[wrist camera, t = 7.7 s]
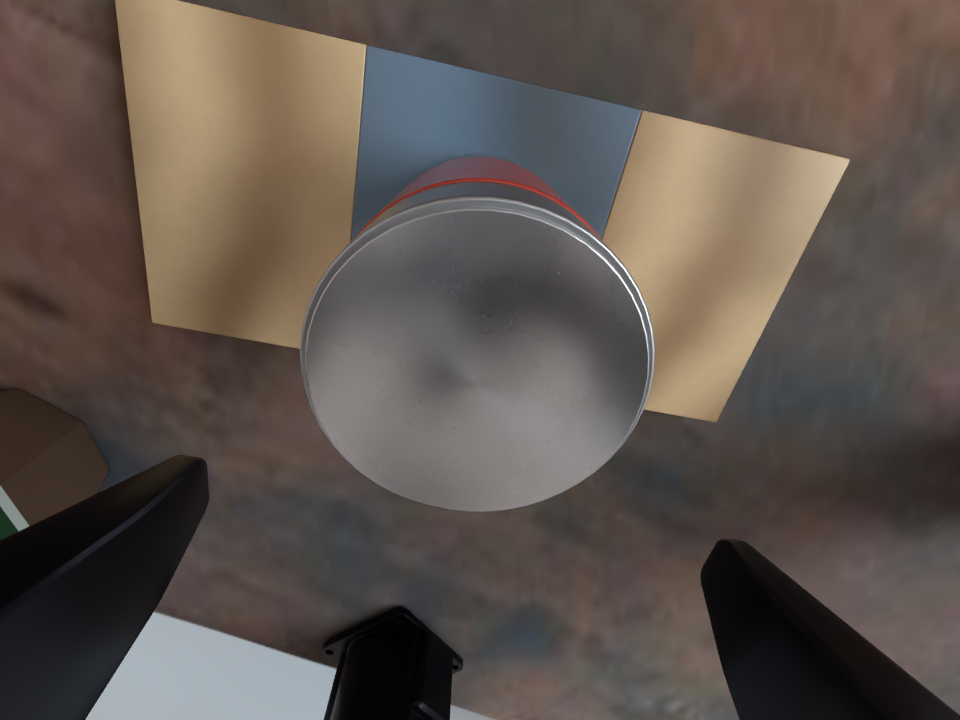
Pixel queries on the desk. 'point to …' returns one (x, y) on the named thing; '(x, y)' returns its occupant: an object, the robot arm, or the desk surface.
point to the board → (419, 147)
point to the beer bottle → (42, 461)
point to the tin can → (477, 342)
